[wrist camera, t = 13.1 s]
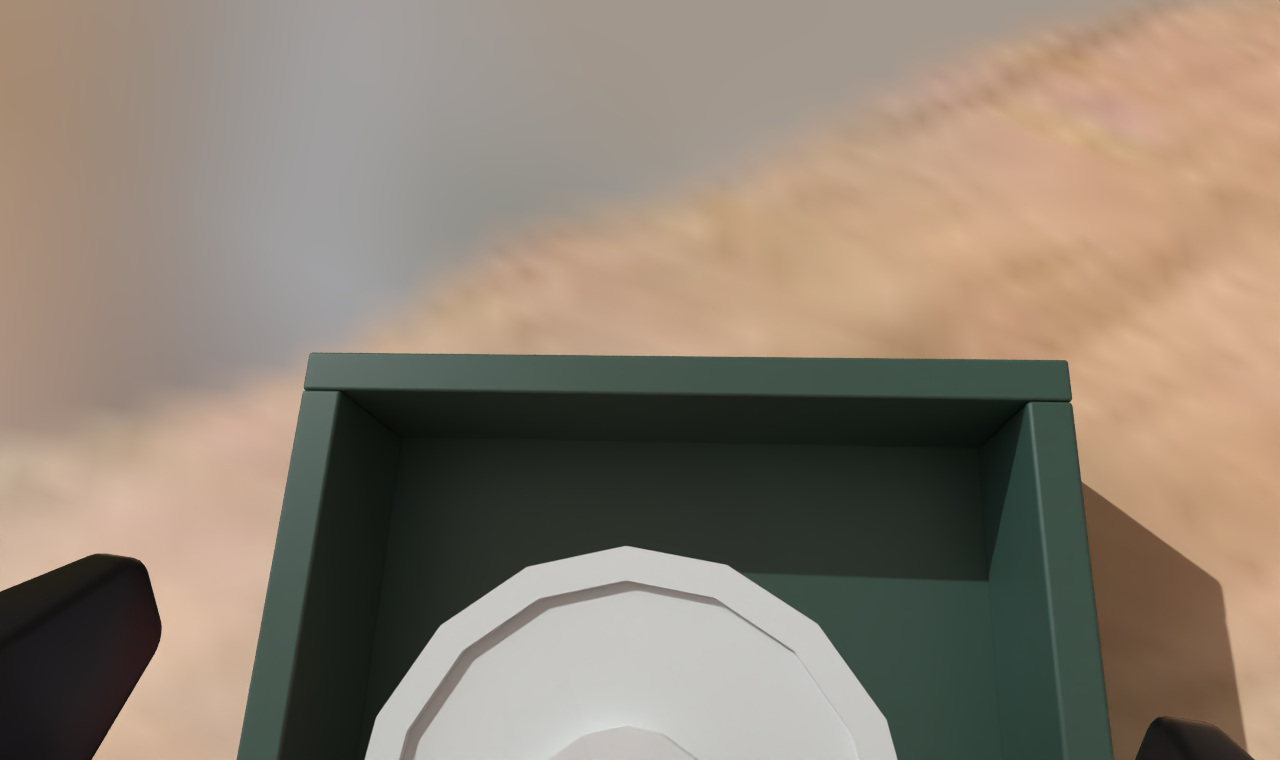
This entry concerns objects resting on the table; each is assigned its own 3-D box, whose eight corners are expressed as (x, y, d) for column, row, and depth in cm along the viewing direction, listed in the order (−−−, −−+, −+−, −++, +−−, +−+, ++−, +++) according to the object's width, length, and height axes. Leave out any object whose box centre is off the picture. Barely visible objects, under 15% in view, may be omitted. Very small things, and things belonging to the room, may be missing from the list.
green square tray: (1076, 1231, 15) (1193, 1414, 11) (276, 1142, 17) (141, 1278, 13) (1003, 422, 20) (1069, 359, 16) (384, 411, 22) (308, 351, 18)
